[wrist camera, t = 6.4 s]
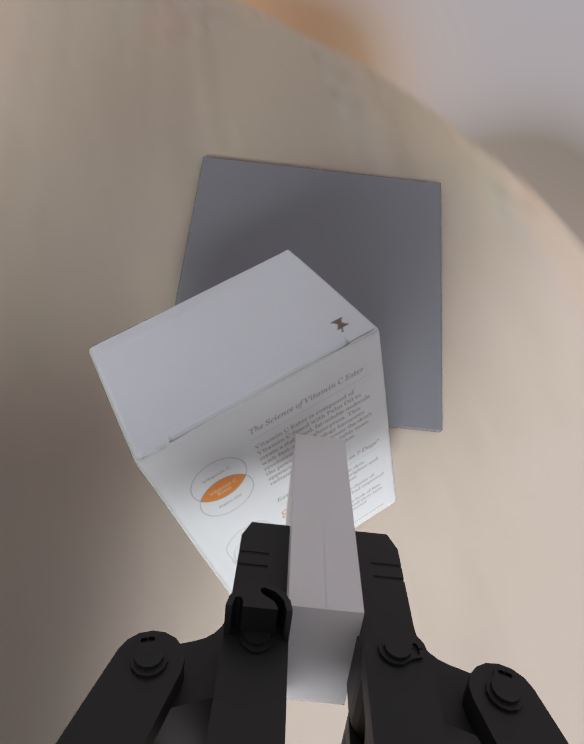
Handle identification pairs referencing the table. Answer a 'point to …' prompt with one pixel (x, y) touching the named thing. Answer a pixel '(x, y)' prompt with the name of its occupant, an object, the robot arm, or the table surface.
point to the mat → (336, 257)
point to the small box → (249, 401)
